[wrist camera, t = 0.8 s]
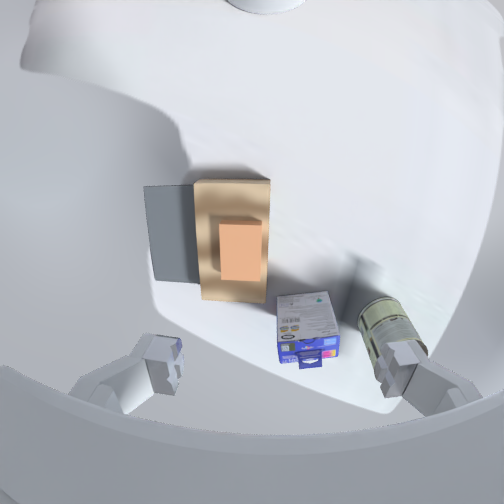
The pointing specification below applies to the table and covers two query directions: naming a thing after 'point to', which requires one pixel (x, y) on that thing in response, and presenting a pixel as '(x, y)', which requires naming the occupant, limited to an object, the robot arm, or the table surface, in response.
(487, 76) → the table surface
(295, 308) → the ink cartridge box
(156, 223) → the mat
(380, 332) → the coffee can
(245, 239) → the block
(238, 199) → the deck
